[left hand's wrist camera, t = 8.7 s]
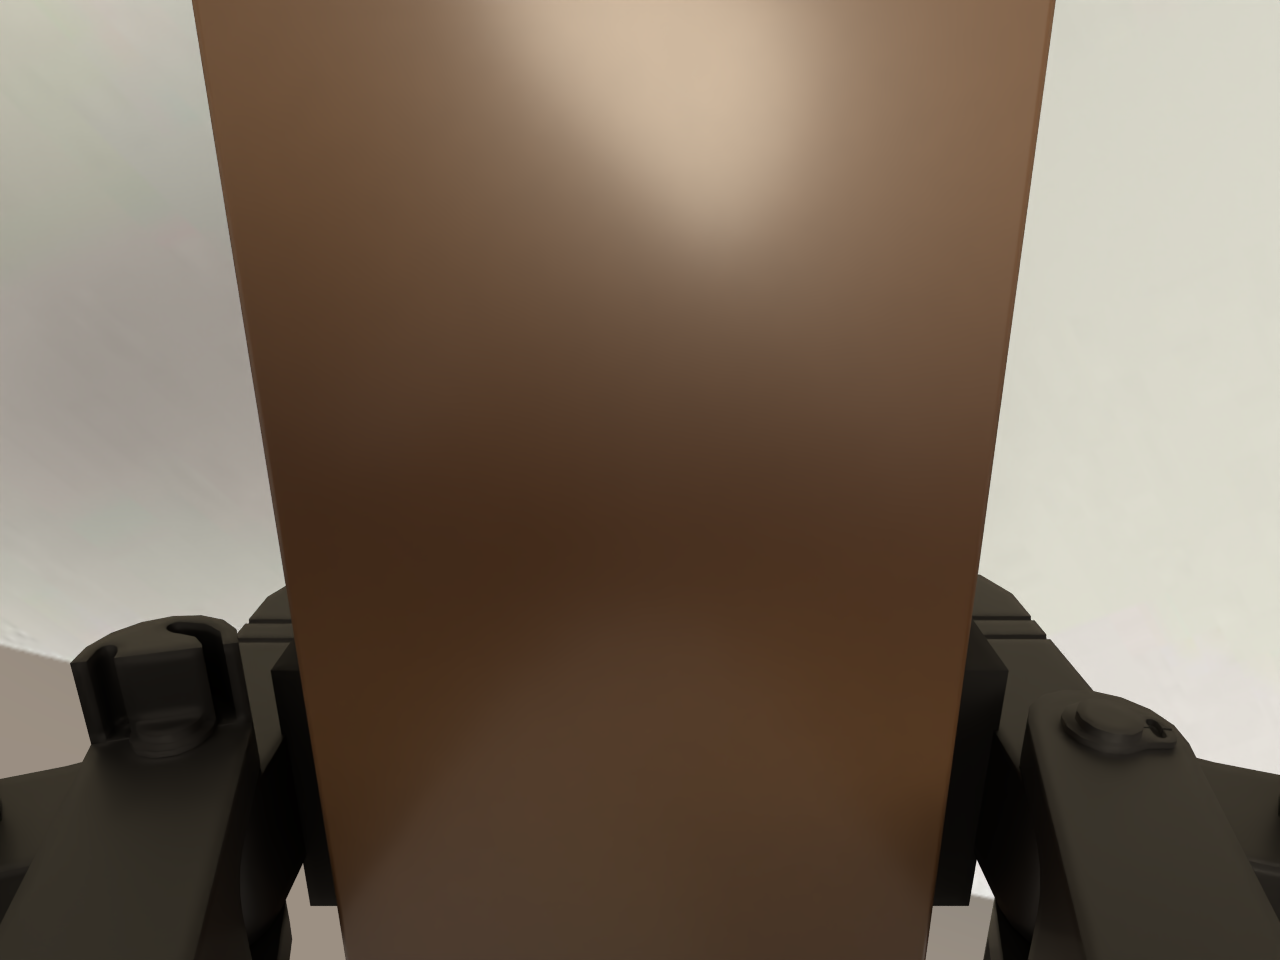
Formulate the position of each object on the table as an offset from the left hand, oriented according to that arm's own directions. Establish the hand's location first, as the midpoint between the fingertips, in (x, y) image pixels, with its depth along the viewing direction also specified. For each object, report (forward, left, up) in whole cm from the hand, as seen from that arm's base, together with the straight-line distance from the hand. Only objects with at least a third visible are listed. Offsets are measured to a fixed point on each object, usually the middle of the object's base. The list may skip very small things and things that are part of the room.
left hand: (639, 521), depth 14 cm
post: (-10, +30, -1) cm, 32 cm away
